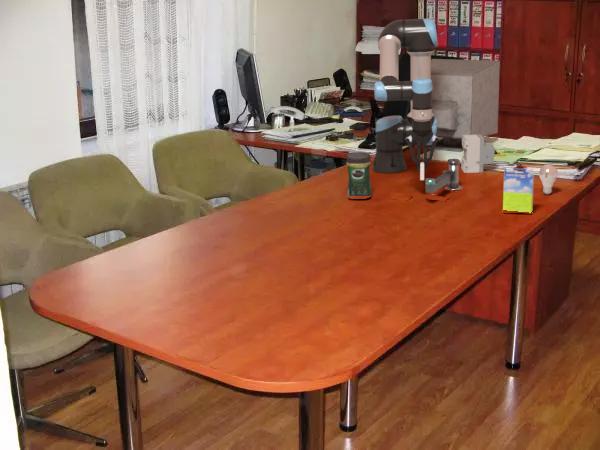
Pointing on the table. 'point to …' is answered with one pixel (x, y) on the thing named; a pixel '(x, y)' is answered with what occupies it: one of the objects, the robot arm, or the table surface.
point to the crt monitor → (464, 100)
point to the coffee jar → (359, 174)
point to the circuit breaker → (476, 153)
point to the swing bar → (440, 181)
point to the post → (455, 167)
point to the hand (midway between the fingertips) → (422, 179)
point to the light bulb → (548, 177)
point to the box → (518, 190)
